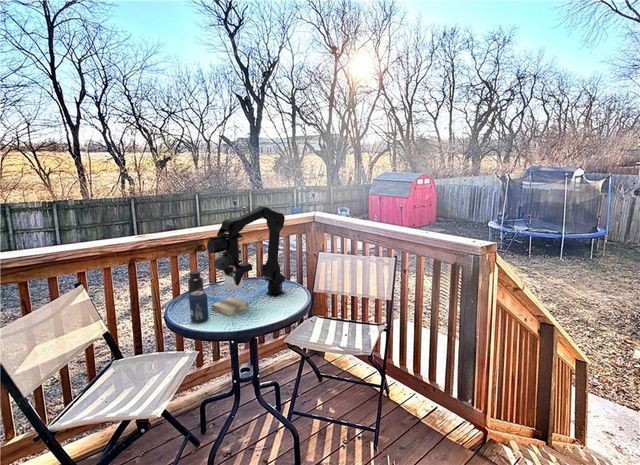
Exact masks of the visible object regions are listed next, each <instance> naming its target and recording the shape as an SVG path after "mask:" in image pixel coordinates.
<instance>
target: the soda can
mask: <svg viewBox="0 0 640 465" xmlns="http://www.w3.org/2000/svg"><path fill="white" fill-rule="evenodd" d="M188 302H189V314H190V320H191V321H192V323H194V324H202V323H205V322H207V321H208V319H209V315H210V314H209V307H208V306H209V305H208V304H209V303H208V294H207V293H206V291H205V290H204V291H203V290H196V291H193V292H191V293H190V297H189V296H188Z"/></svg>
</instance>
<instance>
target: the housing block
mask: <svg viewBox="0 0 640 465" xmlns="http://www.w3.org/2000/svg"><path fill="white" fill-rule="evenodd" d="M223 277H224V279H223V280H224V289H226V290H229V291H234V290H237V289H240V288H243V286H244V285H243V284H244V283H243V278H242V279H241V281H240V283H239V285H236V280H235V274H234V273H233V272H232V273H229V274H226V275H225V274H224V276H223Z"/></svg>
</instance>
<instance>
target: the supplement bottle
mask: <svg viewBox="0 0 640 465" xmlns="http://www.w3.org/2000/svg"><path fill="white" fill-rule="evenodd" d="M187 289H188V298H189V297H190V293H191V292H193V291H196V290H203V291H205V290H204V289H205V288H204V279H203V277H202V276H201V271H197V270H194V271H190V272H189V278H188V280H187Z"/></svg>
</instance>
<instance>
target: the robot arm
mask: <svg viewBox="0 0 640 465" xmlns="http://www.w3.org/2000/svg"><path fill="white" fill-rule="evenodd" d="M262 218H263V219H265V220H266V226H267V229H268V230H269V231H268V232H269V233H268V246H267V258H266V260H267V261H266V262H265V263H264V264H262V265H261V268H262V269H261V274H262V277H263V278H264V279H265V280H264V281H265V282H267V292H266V295H270V296H273V297H278V296H281V295H283V294H284V293H286V292H285V291H284V290H283V283H285V282H286V281H285V280H286V277H285V276H284V275H283V274H282V273H281V266H280V264H279V261H278V260H279V247H280V234H281V231H282V229H283V228H284V224H285V219H286V218H285V215H284V214H283V213H282V212H277V211H275V210H272V209H270V208H269V207H267V206H262V205H260V206H257V208H255V209H253V210H251V211H249V212H247V213H244V214H243V215H240V216H237V217H230V218H226V219H224V220H223V221H222V224H221V226H220V228H219V230H218V232H217V233H216V236H215V235H214V236H210V237H209V239H208V241H207V244H206V250H207V251H208V252H209V254H217V253H221V252H222V256H221V257H219V258H217V259H214V261H213V265H214V269H216V270H219V271H221V272H223V273H224V275H226V274H229V273H232V272H233V273H234V274H235V280H236V285H239V283H240V281H241V279H243V278H244V275H245V273H248V272H251V271H253V265H252V263H249V262H242V261H243V260H241V259H240V254H242V251H241V250H240V244H239V243H240V242H239V239H241V238H243V235H242V234H241V233H240V232H241V231H243V230H244V227H246V226H248V225H250V224H252V223H254V222H256V221H258V220H259V219H262ZM233 268H236V271H233Z"/></svg>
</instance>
